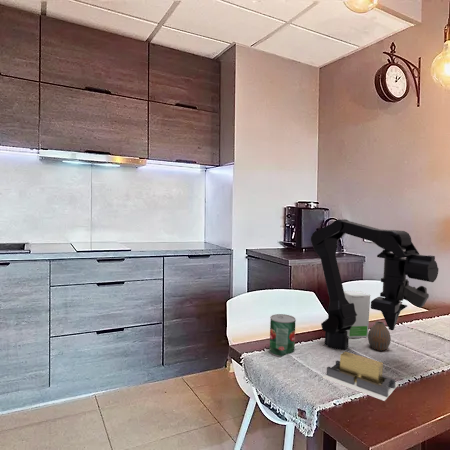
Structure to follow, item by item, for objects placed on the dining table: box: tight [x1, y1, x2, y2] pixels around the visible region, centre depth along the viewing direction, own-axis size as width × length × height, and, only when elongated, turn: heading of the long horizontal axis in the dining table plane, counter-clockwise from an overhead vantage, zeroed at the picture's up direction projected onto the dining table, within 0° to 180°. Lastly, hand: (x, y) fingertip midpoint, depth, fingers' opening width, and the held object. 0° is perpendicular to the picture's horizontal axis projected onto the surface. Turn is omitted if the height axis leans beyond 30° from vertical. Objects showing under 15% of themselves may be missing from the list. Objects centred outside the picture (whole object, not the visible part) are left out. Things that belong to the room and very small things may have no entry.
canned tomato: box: [268, 313, 297, 358], centre depth 113 cm, size 8×8×11 cm
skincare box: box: [344, 290, 371, 339], centre depth 130 cm, size 8×7×16 cm
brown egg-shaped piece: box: [367, 320, 392, 351], centre depth 119 cm, size 7×7×9 cm
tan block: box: [339, 350, 384, 385], centre depth 94 cm, size 10×3×6 cm, turn 48°
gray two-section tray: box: [325, 360, 397, 397], centre depth 94 cm, size 16×6×2 cm, turn 48°
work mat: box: [321, 374, 400, 402], centre depth 94 cm, size 16×11×1 cm
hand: (391, 329), depth 102 cm, fingers closed
